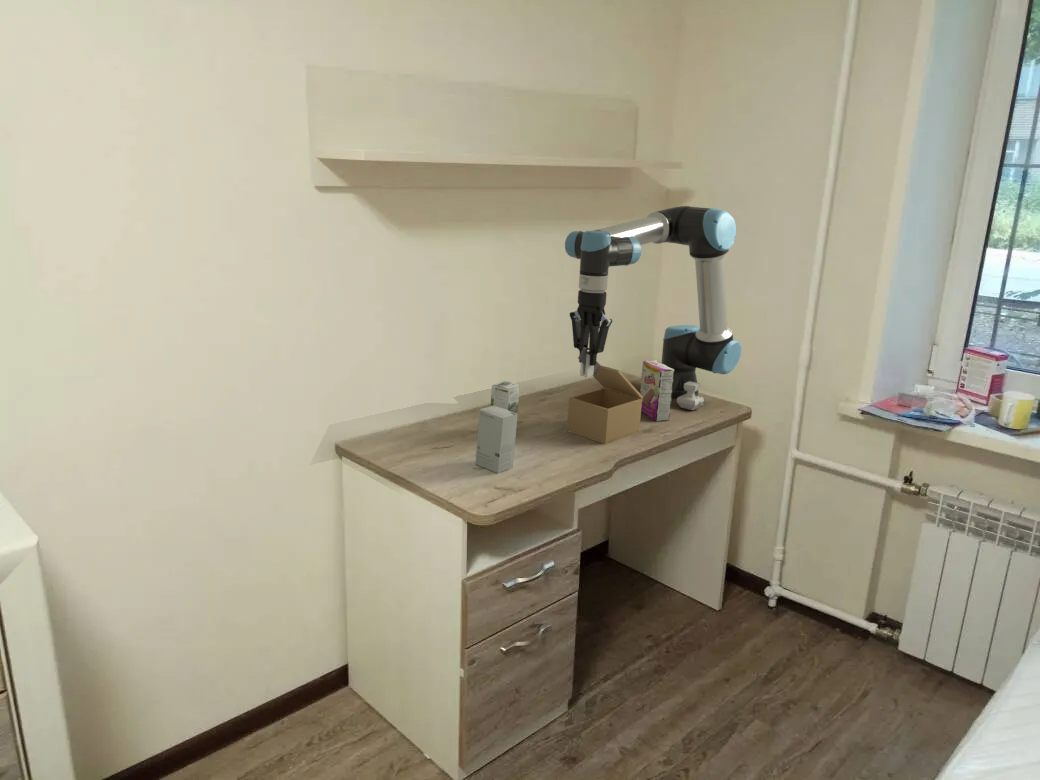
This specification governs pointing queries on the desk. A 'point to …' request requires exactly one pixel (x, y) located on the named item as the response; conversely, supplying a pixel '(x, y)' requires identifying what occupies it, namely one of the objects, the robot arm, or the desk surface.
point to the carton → (604, 415)
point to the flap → (611, 378)
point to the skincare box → (496, 438)
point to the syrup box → (505, 396)
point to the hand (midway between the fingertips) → (586, 375)
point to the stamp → (690, 397)
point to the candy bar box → (656, 390)
